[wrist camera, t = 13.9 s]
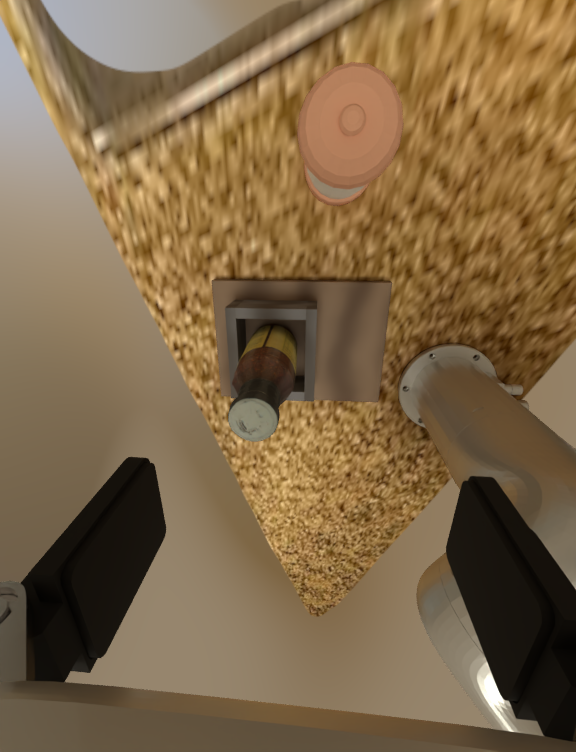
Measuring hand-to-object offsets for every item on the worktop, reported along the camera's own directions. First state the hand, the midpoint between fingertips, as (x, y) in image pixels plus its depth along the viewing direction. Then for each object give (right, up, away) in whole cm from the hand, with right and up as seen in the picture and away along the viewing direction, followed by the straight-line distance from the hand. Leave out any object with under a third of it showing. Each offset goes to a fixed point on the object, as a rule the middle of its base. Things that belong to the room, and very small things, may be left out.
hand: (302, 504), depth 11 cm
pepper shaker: (+5, +27, +28) cm, 39 cm away
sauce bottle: (-2, +8, +35) cm, 36 cm away
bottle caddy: (+1, +9, +36) cm, 37 cm away
